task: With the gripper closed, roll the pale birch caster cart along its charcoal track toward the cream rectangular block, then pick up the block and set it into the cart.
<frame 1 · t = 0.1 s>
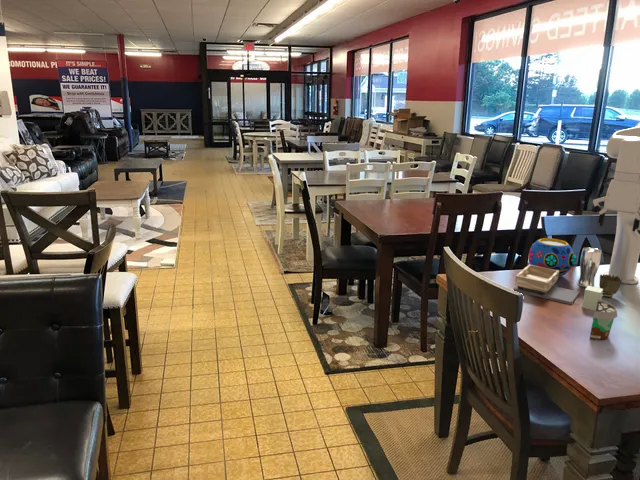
hand: (617, 228, 170), 31 cm above the table, fingers open, 9 cm apart
beer glass: (585, 285, 205), on the table
cup: (607, 297, 194), on the table
ceramic pot: (547, 276, 216), on the table
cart: (536, 280, 198), point 4 cm above the table, slide at 0.0 cm
food container: (601, 336, 162), on the table
track: (546, 292, 197), on the table
cream rectangular block: (590, 307, 184), on the table
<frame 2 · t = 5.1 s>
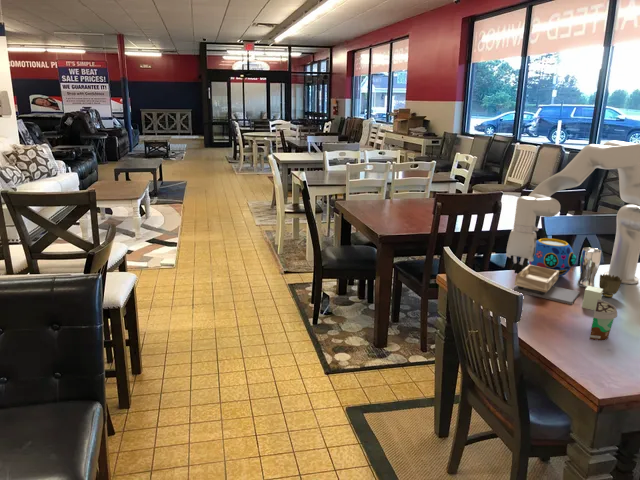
hand: (517, 272, 202), 5 cm above the table, fingers closed
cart: (536, 280, 198), point 4 cm above the table, slide at 0.0 cm, touching gripper
everything else where it was.
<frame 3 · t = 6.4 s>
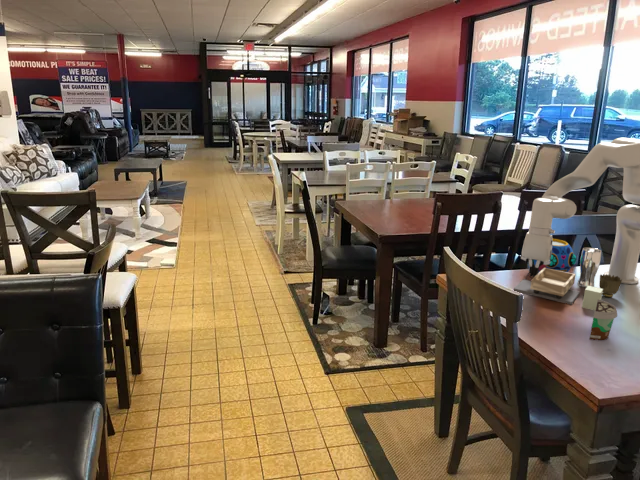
hand: (533, 275, 199), 5 cm above the table, fingers closed
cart: (552, 283, 195), point 4 cm above the table, slide at 5.9 cm, touching gripper
everything else where it was.
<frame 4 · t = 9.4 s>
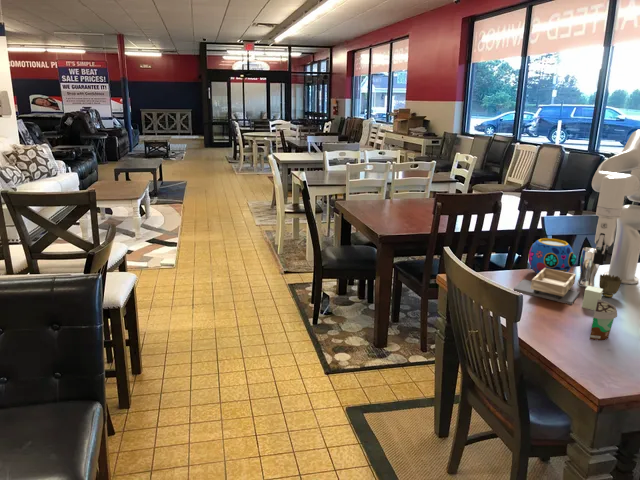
hand: (599, 261, 179), 17 cm above the table, fingers open, 4 cm apart
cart: (553, 283, 195), point 4 cm above the table, slide at 6.0 cm
everything else where it was.
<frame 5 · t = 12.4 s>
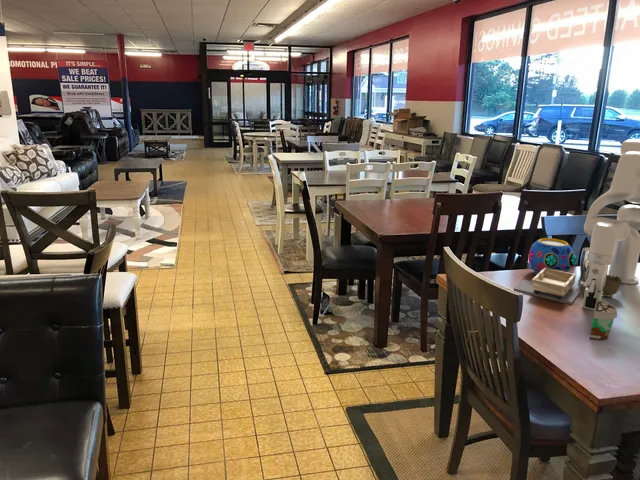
hand: (591, 304, 184), 1 cm above the table, fingers closed on cream rectangular block, 5 cm apart
cream rectangular block: (590, 307, 184), on the table, touching gripper
everything else where it was.
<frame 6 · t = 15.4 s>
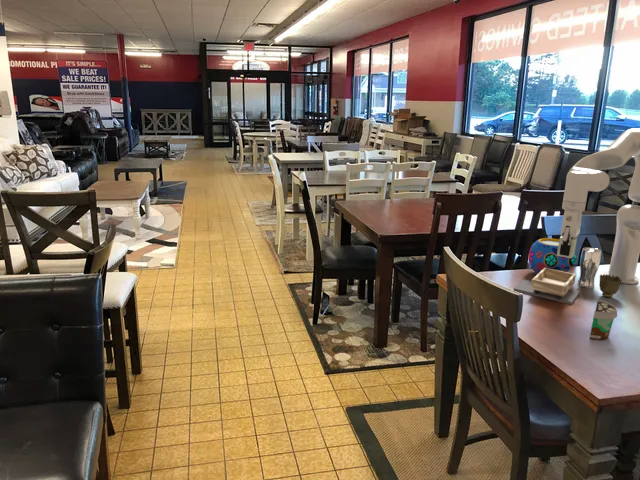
hand: (565, 252, 189), 17 cm above the table, fingers closed on cream rectangular block, 5 cm apart
cream rectangular block: (565, 255, 189), point 16 cm above the table, touching gripper
everything else where it was.
when the fingers open (6 cm above the table, at t = 18.2 s): cream rectangular block drops 1 cm, resting on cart.
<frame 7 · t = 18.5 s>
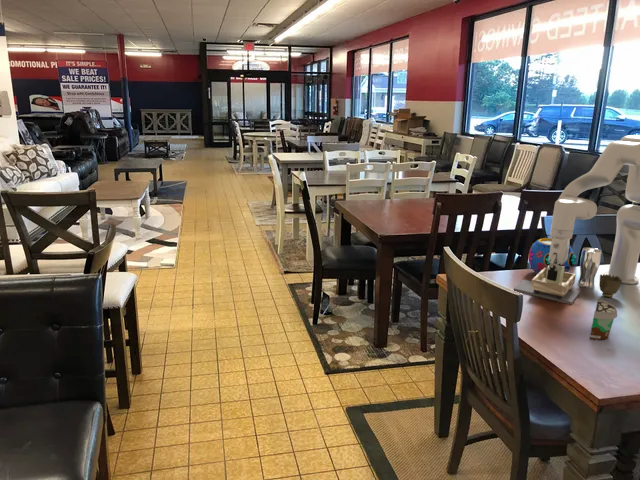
hand: (554, 276, 194), 7 cm above the table, fingers open, 8 cm apart
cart: (553, 283, 195), point 4 cm above the table, slide at 6.0 cm, touching cream rectangular block
cream rectangular block: (553, 284, 195), point 4 cm above the table, touching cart
everything else where it was.
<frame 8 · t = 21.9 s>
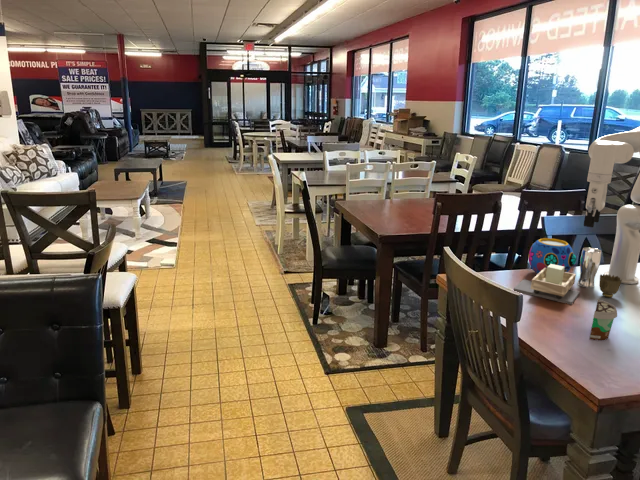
hand: (591, 224, 187), 28 cm above the table, fingers open, 9 cm apart
nothing on the table moved.
at the end: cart slide at 6.0 cm; cream rectangular block inside the target area (0.1 cm from its centre), point 4.0 cm above the table; cream rectangular block tilted 0° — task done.
